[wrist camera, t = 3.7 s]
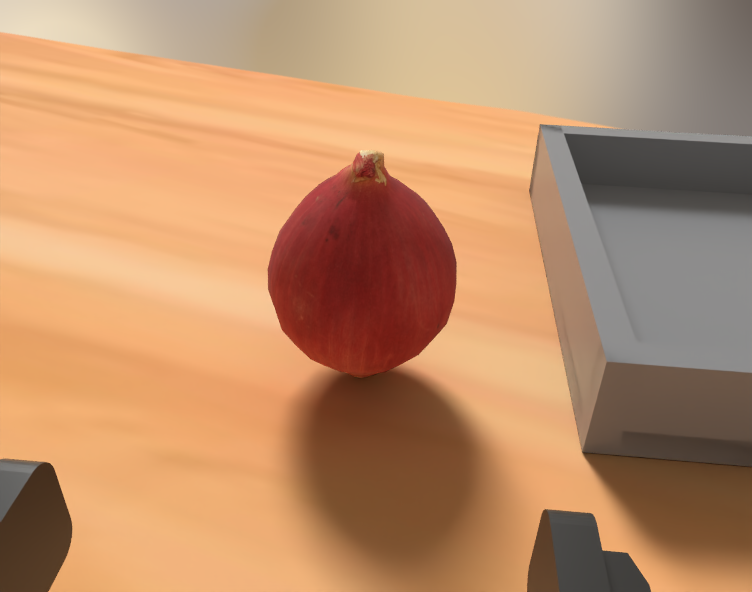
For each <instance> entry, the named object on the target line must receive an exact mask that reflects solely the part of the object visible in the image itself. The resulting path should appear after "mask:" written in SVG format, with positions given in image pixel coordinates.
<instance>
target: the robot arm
mask: <svg viewBox="0 0 752 592" xmlns="http://www.w3.org/2000/svg"><path fill="white" fill-rule="evenodd" d="M71 538H72V521H71V518H70V515H69V512H68V509H67V506H66V503H65V500H64V497H63V494H62V491H61V488H60V485H59V482H58V479H57V476H56V473H55V470H54V468H53V466H52V465H51V464H50V463H47V462H37V461H26V460H15V459H1V460H0V592H48V591H49V589H50V587H51V585H52V583H53V582H54V580H55V578H56V576H57V574H58V572H59V570H60V568H61V566H62V564H63V562H64V560H65V558H66V556H67V553H68V551H69V547H70V543H71ZM527 592H651V590H650V586H649V584H648V582H647V581H646V579H645V578H644V577H643V575H642V574H641V572H640V571H639V569H638V568H637V566H636V565H635V563H634V562H633V560H632V559H631V557H630V556H629V554H628V553H622V552H611V551H602V547H601V542H600V537H599V532H598V527H597V523H596V520H595V517H594V516H593V514H591V513H581V512H570V511H559V510H548V509H545V510H544V511H543V513H542V516H541V520H540V524H539V528H538V532H537V536H536V540H535V545H534V549H533V553H532V557H531V561H530V565H529V571H528V583H527Z"/></svg>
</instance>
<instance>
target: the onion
mask: <svg viewBox="0 0 752 592" xmlns="http://www.w3.org/2000/svg"><path fill="white" fill-rule="evenodd" d="M268 290H269V293H270V296H271V299H272V302H273V305H274V307H275V310H276V313H277V316H278V319H279V322H280V325H281V328H282V330H283V332H284V333H285V334H286V335H287V336H288V337H289V338H290V339H291V340H292V341H293V343H294V344H295V345H296V346H297V347H298V348H299V349H300V350H302V351H303V352H304V353H305V354H306V355H307V356H308V357H309V358H310V359H312V360H314V361H316V362H318V363H320V364H322V365H325V366H327V367H330V368H332V369H335V370H338V371H340V372H346V373H348V374H350V375H352V376H355V377H358V378H363V377H368V376H371V375H375V374H377V373H381V372H386V371H388V370H390V369H392V368H394V367H396V366H398V365H400V364H402V363H404V362H406V361H408V360H410V359H412V358H413V357H415V356H417V355H419V354H420V353H421V351H422V350H423V349H424V348H425V347H426V346H427V345H428V344H429V343H430V342H431V341H432V340H433V339H434V338H435V336H436V335H437V334H438V333H439V332H440V331H441V330H442V329H443V327H444V326H445V325H446V324H447V321H448V318H449V315H450V312H451V309H452V306H453V304H454V298H455V290H456V258H455V254H454V250H453V246H452V243H451V241H450V239H449V237H448V235H447V233H446V231H445V229H444V227H443V226H442V224H441V223H440V221H439V220H438V218H437V217H436V215H435V213H434V212H433V211H432V209H431V208H430V207H429V205H428V204H427V203H426V202H425V201H424V200H423V199H422V198H421V197H420V196H419V195H418V194H417V193H416V192H414V191H413V190H411V189H410V188H408V187H407V186H405V185H404V184H403V183H401V182H400V181H399V180H397V179H395V178H393V177H391V176H390V175H389V174H388V172H387V170H386V168H385V166H384V154H383V153H381V152H378V151H374V150H369V151H364V150H361V151H360V152H359V153H358V154H357V155H356V158H355V160H354V162H353V163H352V164H351V165H349V166H347V167H345V168H344V169H342V170H341V171H340V172H339V173H338V174H336V175H334V176H332V177H330V178H328V179H327V180H325V181H324V182H322V183H321V184H319V185H318V186H317V187H316V188H315V189H314V190H312V191H311V192H310V193H309V194H308V195H307V196H306V197H305V198H304V199H303V200H302V202H301V203H300V204H299V205H298V206H297V208H296V209H295V210H294V212H293V213H292V215H291V216H290V217H289V219H288V220H287V222H286V223H285V224H284V226H283V227H282V229H281V230H280V232H279V234H278V237H277V240H276V242H275V245H274V248H273V250H272V254H271V258H270V262H269V266H268Z"/></svg>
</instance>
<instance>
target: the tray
mask: <svg viewBox="0 0 752 592" xmlns="http://www.w3.org/2000/svg"><path fill="white" fill-rule="evenodd" d="M529 192H530V197H531V202H532V207H533V212H534V217H535V222H536V226H537V231H538V236H539V241H540V246H541V251H542V256H543V261H544V266H545V271H546V276H547V281H548V286H549V291H550V296H551V301H552V305H553V310H554V315H555V320H556V325H557V330H558V335H559V340H560V345H561V350H562V355H563V360H564V365H565V370H566V375H567V379H568V384H569V389H570V394H571V399H572V404H573V409H574V414H575V419H576V424H577V429H578V434H579V439H580V444H581V449H582V452H586V453H598V454H610V455H622V456H633V457H645V458H657V459H668V460H680V461H692V462H704V463H715V464H727V465H739V466H751V467H752V137H749V136H748V137H747V136H731V135H714V134H713V135H712V134H697V133H680V132H662V131H645V130H628V129H610V128H593V127H576V126H558V125H541V124H540V128H539V134H538V140H537V146H536V152H535V158H534V164H533V171H532V177H531V183H530V189H529Z"/></svg>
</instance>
